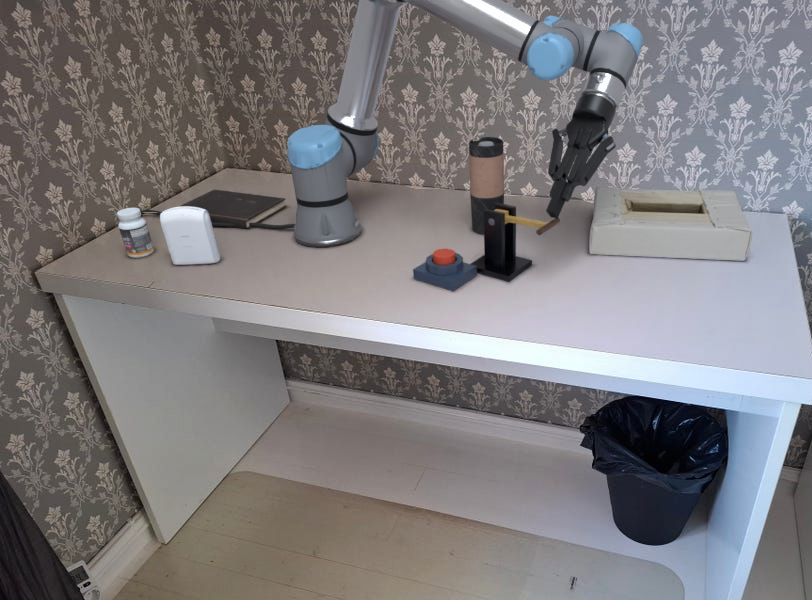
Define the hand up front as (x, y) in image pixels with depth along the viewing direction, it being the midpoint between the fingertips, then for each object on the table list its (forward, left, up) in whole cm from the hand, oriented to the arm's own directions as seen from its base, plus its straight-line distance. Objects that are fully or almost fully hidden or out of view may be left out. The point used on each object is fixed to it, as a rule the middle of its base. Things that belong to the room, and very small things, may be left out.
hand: (552, 214), depth 128 cm
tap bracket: (-11, -1, -13) cm, 17 cm away
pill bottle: (-84, -37, -13) cm, 93 cm away
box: (+11, +31, -13) cm, 35 cm away
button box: (-18, -11, -13) cm, 25 cm away
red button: (-18, -11, -10) cm, 23 cm away
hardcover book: (-87, -10, -13) cm, 89 cm away
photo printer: (-69, -33, -13) cm, 78 cm away
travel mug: (-25, +15, -13) cm, 32 cm away
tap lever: (-6, -1, -3) cm, 7 cm away
